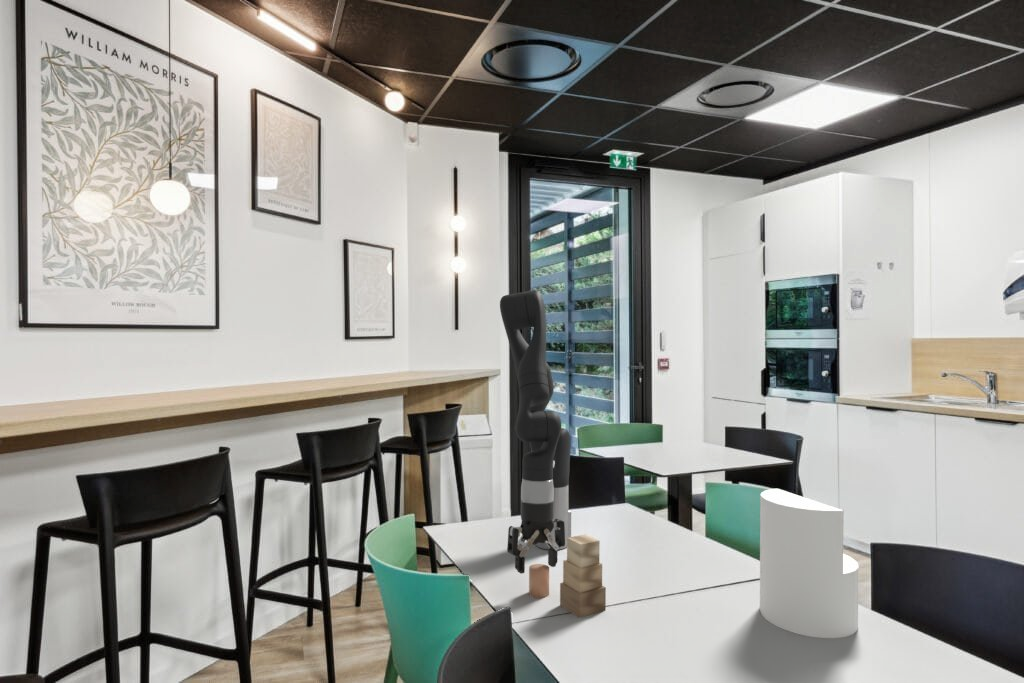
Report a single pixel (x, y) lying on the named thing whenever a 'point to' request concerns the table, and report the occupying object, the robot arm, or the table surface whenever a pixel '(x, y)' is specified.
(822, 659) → the table surface
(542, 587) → the cylinder
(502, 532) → the table surface
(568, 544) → the tower top
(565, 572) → the tower mid
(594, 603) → the tower base
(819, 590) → the cylinder
